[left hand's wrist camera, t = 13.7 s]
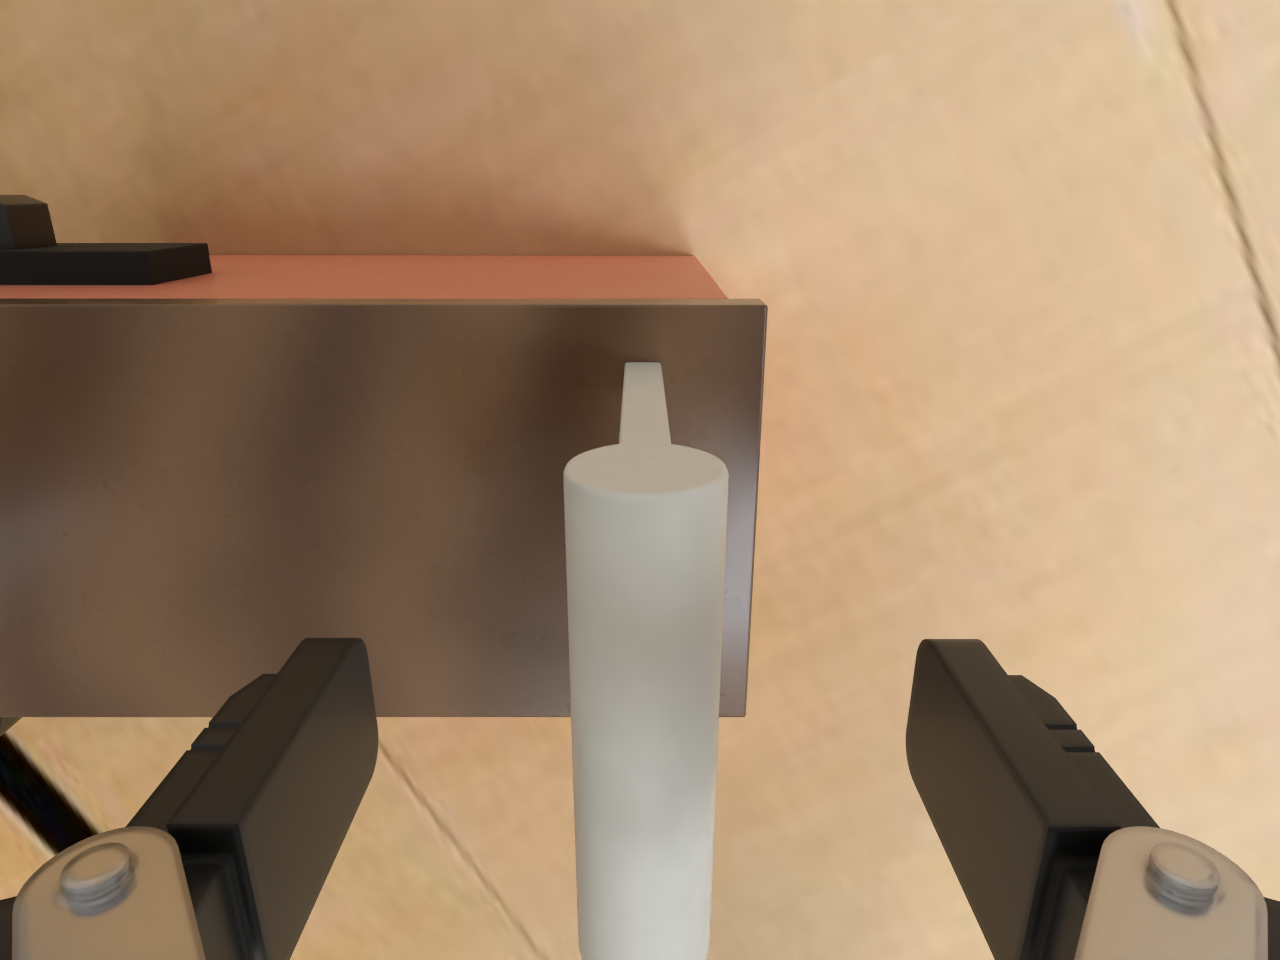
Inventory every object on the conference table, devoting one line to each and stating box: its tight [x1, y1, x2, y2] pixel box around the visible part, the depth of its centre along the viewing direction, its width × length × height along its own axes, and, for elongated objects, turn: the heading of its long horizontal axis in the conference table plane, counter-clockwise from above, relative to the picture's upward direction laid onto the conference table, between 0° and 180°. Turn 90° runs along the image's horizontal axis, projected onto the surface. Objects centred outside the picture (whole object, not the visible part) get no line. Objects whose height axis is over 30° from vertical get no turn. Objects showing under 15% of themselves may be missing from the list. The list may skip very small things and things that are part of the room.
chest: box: [0, 255, 728, 299], centre depth 23 cm, size 17×9×11 cm, turn 90°
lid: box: [0, 298, 768, 960], centre depth 14 cm, size 18×9×8 cm, turn 90°
